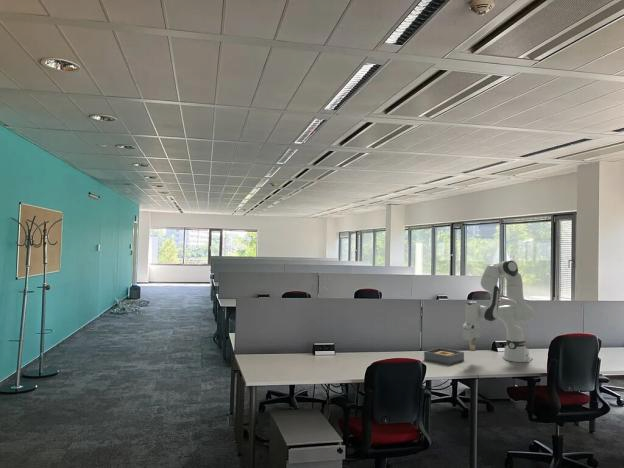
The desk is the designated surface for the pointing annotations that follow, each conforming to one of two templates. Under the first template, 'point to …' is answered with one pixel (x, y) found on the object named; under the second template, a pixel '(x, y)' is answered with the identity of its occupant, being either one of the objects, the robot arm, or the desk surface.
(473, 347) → the peg
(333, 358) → the desk surface
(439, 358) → the walled box
